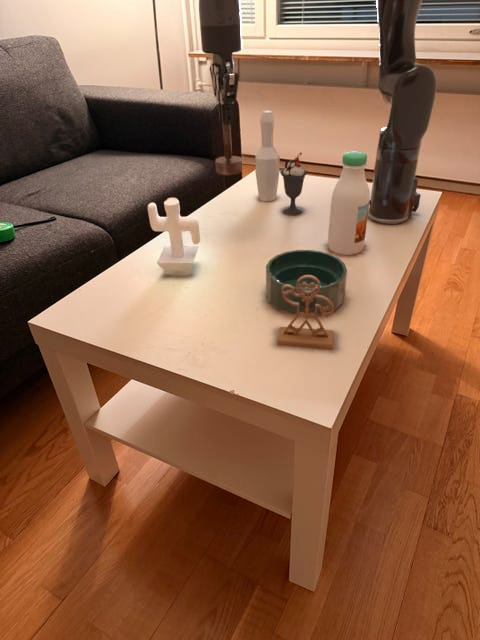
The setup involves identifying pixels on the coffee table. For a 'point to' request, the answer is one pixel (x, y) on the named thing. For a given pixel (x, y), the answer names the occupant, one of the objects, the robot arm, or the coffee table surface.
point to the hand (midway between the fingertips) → (226, 122)
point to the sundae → (293, 183)
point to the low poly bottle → (267, 161)
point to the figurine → (175, 237)
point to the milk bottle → (349, 206)
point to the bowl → (305, 263)
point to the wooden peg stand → (228, 156)
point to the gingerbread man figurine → (303, 335)
